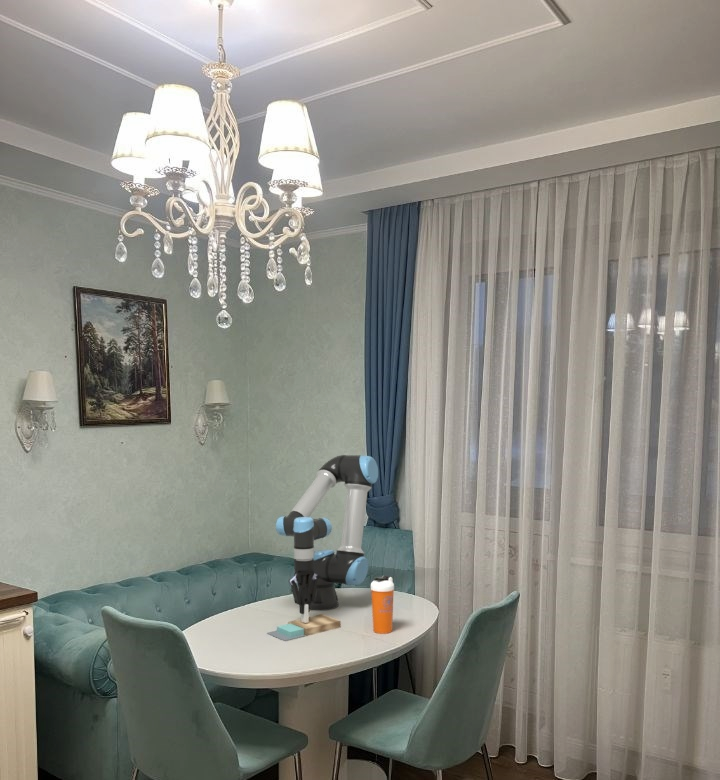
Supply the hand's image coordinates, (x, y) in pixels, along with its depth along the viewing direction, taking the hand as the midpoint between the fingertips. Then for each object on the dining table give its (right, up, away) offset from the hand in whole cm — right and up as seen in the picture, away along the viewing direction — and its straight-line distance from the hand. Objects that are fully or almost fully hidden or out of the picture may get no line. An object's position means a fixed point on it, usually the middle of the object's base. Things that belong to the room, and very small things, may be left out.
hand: (304, 621), depth 268 cm
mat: (-6, -3, -6) cm, 9 cm away
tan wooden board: (+3, -3, +2) cm, 5 cm away
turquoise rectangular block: (-5, -3, -5) cm, 7 cm away
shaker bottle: (+29, -3, -2) cm, 30 cm away
